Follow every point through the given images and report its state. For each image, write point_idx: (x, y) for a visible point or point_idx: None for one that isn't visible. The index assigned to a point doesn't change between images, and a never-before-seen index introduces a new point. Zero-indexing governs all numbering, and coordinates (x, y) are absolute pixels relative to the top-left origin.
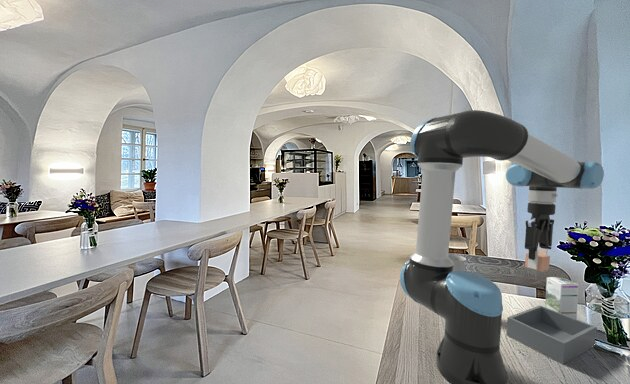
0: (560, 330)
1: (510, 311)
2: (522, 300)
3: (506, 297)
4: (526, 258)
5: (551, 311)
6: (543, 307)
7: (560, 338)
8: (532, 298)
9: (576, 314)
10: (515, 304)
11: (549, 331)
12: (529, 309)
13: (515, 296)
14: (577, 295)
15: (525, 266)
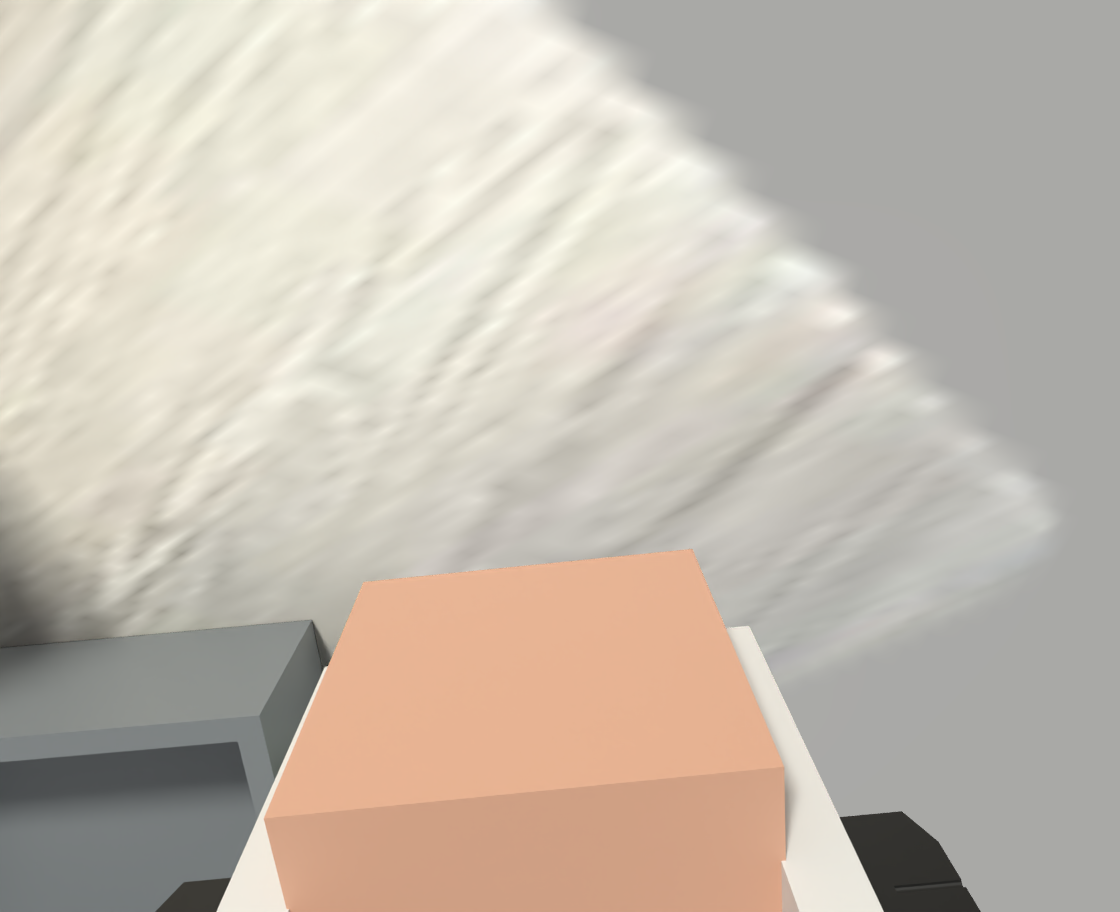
0: None
1: (222, 404)
2: (619, 269)
3: (508, 138)
4: (317, 727)
5: (257, 811)
6: (247, 753)
7: (191, 835)
8: (796, 274)
9: None
10: (433, 312)
11: (203, 761)
12: (46, 737)
13: (652, 158)
14: None
15: (363, 599)
